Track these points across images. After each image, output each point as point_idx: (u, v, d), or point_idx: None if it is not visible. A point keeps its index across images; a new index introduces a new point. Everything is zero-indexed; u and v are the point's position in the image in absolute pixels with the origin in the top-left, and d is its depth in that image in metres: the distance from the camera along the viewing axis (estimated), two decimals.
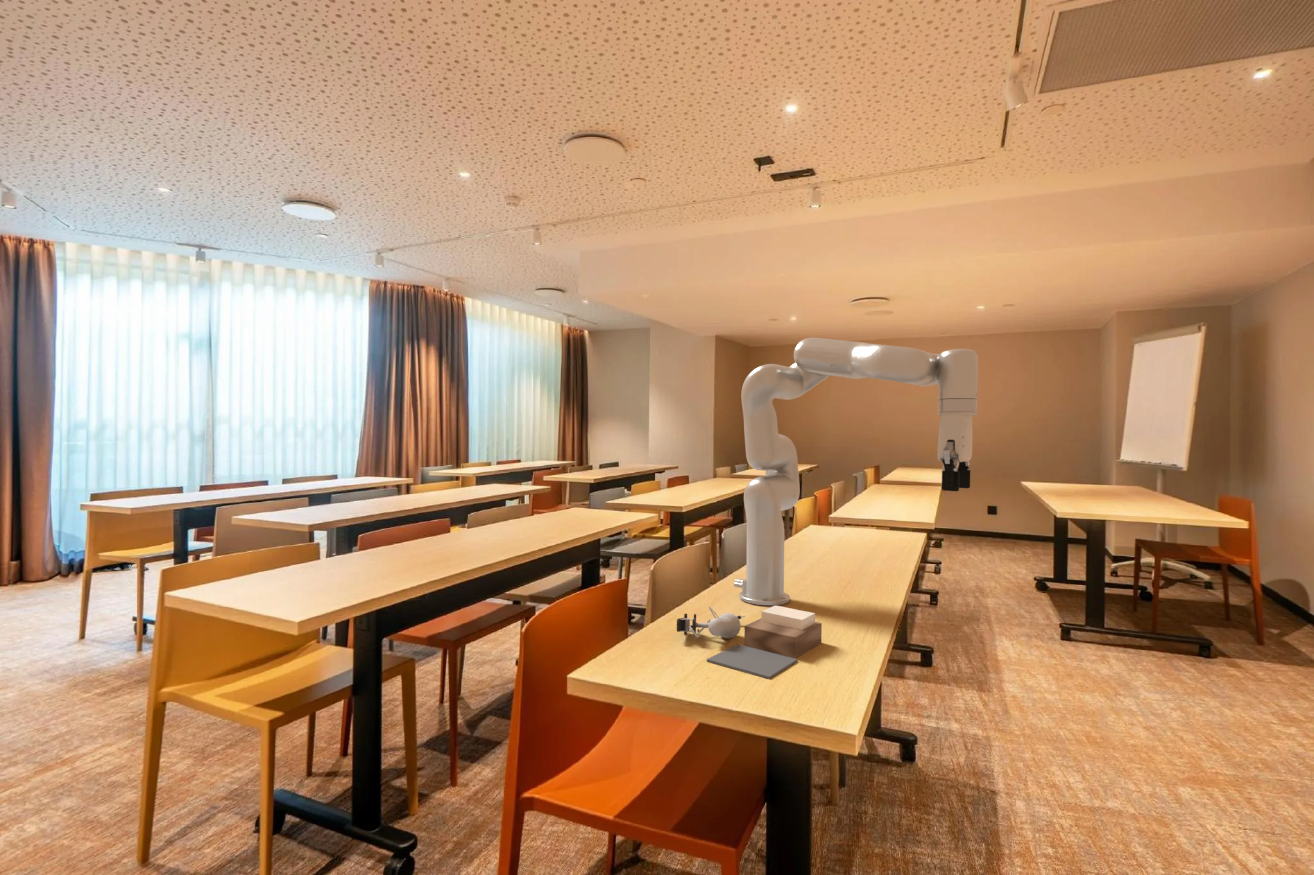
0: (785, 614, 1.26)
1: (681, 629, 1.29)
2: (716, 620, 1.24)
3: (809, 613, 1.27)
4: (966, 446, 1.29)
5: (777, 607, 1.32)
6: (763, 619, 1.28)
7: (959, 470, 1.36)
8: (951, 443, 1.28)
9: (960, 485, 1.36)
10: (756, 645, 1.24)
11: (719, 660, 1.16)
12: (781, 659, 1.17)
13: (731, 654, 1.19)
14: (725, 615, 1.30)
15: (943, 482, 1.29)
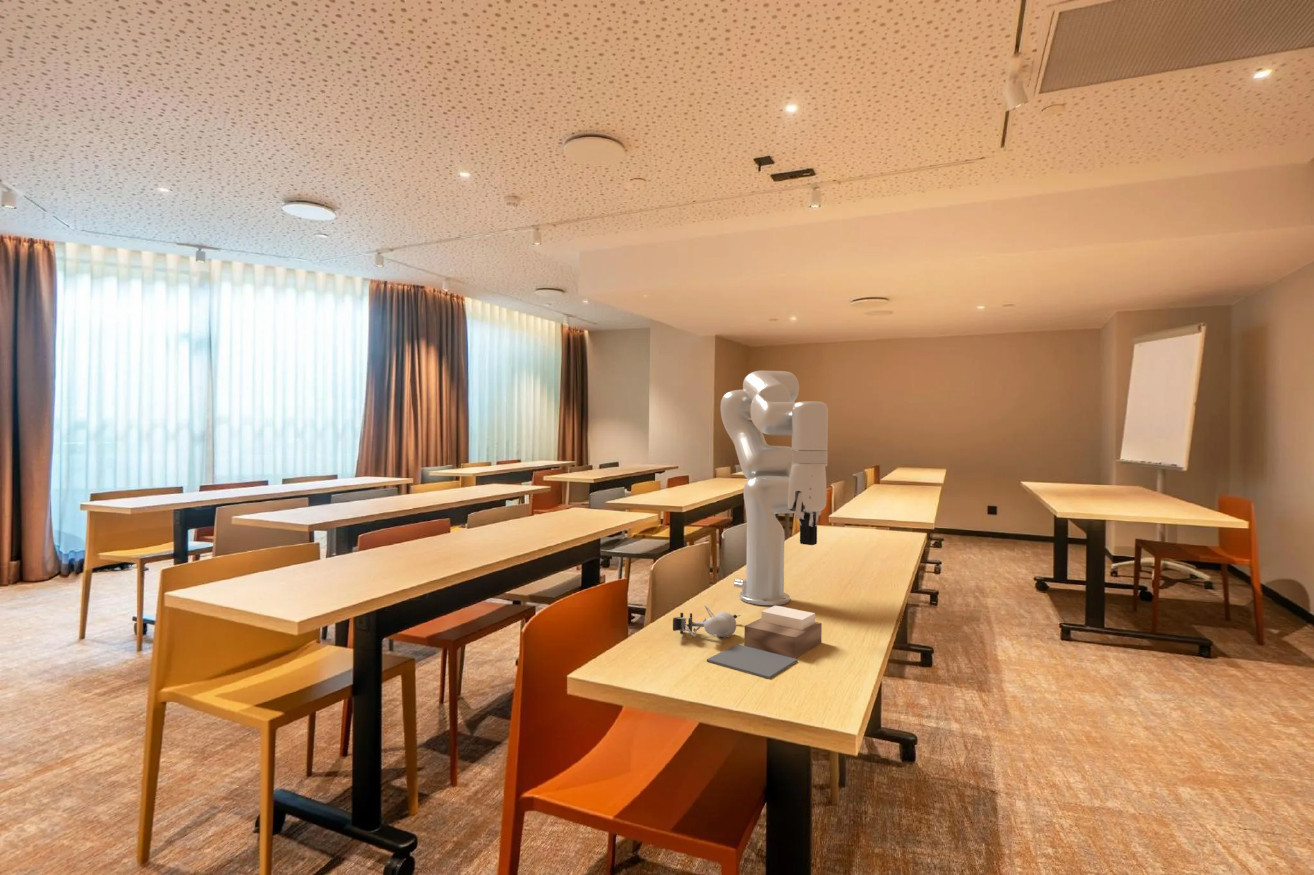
0: (785, 614, 1.26)
1: (677, 628, 1.30)
2: (712, 619, 1.25)
3: (809, 613, 1.27)
4: (814, 497, 1.32)
5: (777, 607, 1.32)
6: (763, 619, 1.28)
7: None
8: (800, 502, 1.31)
9: None
10: (756, 645, 1.24)
11: (719, 660, 1.16)
12: (781, 659, 1.17)
13: (731, 654, 1.19)
14: (721, 614, 1.31)
15: (801, 536, 1.35)
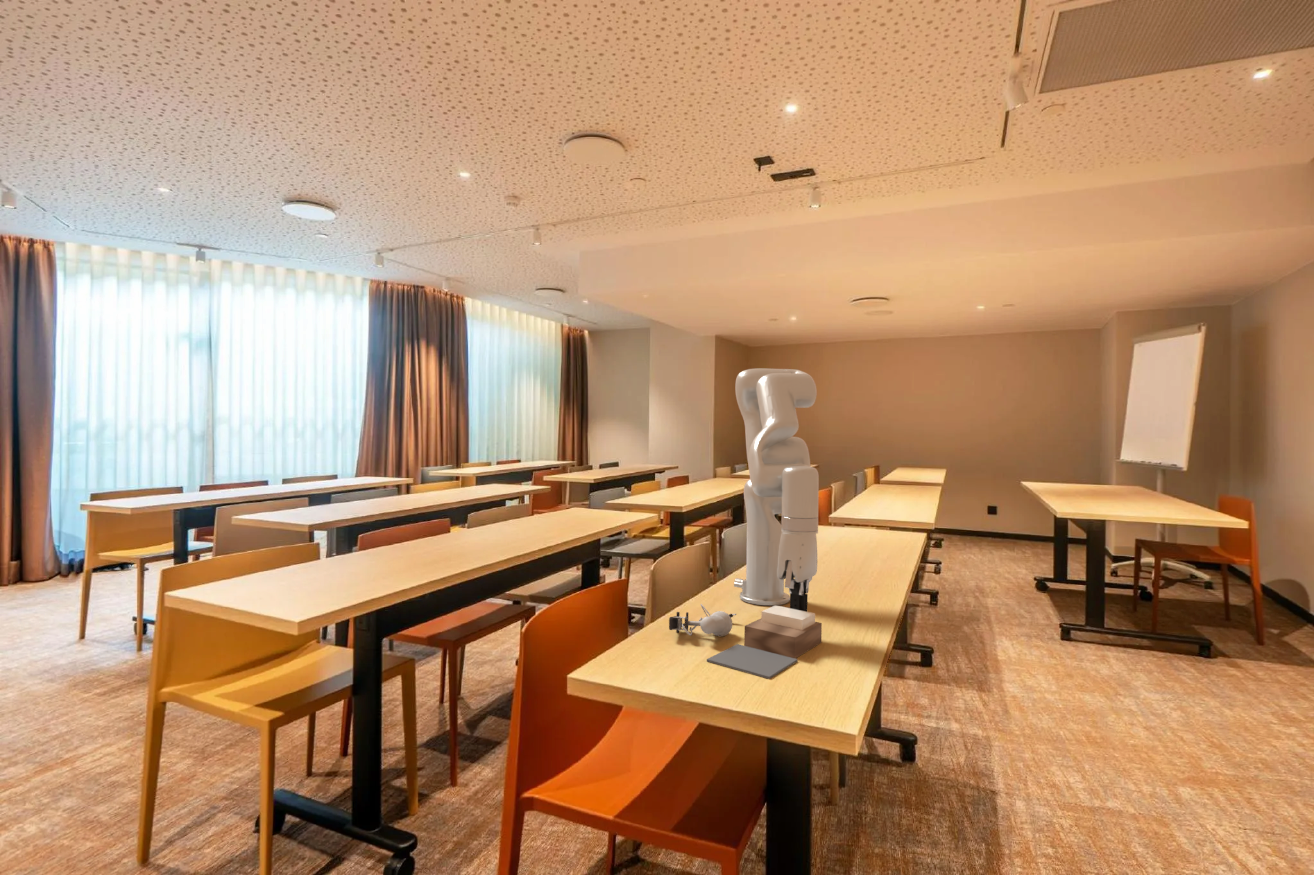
0: (785, 614, 1.26)
1: (674, 627, 1.30)
2: (708, 618, 1.25)
3: (809, 613, 1.27)
4: (805, 566, 1.28)
5: (777, 607, 1.32)
6: (763, 619, 1.28)
7: None
8: (790, 571, 1.28)
9: None
10: (756, 645, 1.24)
11: (719, 660, 1.16)
12: (781, 659, 1.17)
13: (731, 654, 1.19)
14: (717, 613, 1.31)
15: (791, 604, 1.32)
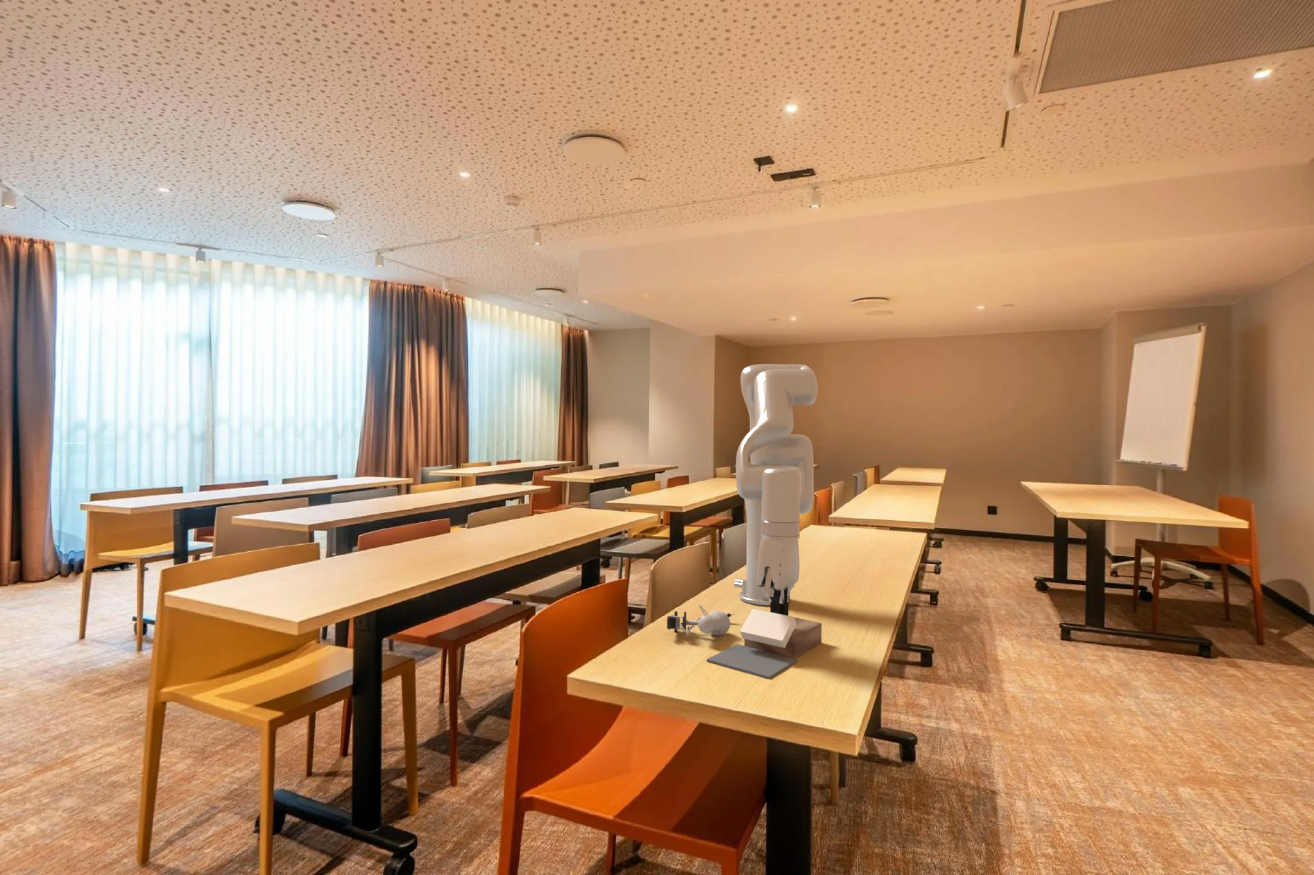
0: (764, 631, 1.20)
1: (672, 626, 1.30)
2: (706, 617, 1.26)
3: (788, 619, 1.20)
4: (785, 573, 1.22)
5: (755, 614, 1.24)
6: (744, 637, 1.22)
7: None
8: (770, 578, 1.21)
9: None
10: (756, 645, 1.24)
11: (719, 660, 1.16)
12: (781, 659, 1.17)
13: (731, 654, 1.19)
14: (715, 613, 1.31)
15: None
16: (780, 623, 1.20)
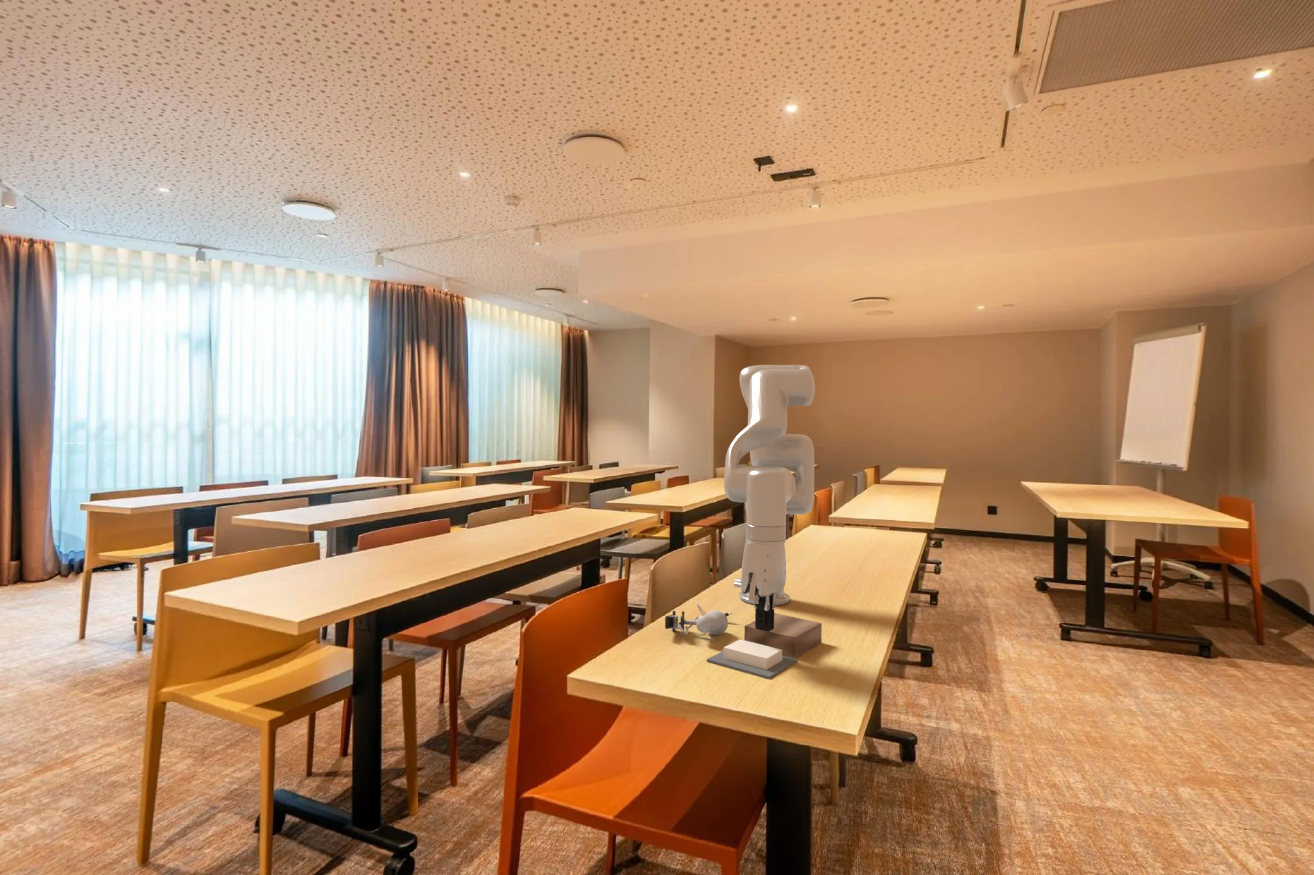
0: None
1: (670, 626, 1.31)
2: (704, 617, 1.26)
3: None
4: (770, 579, 1.17)
5: None
6: None
7: None
8: (754, 585, 1.16)
9: None
10: None
11: (719, 660, 1.16)
12: None
13: None
14: (713, 612, 1.32)
15: (756, 620, 1.20)
16: None
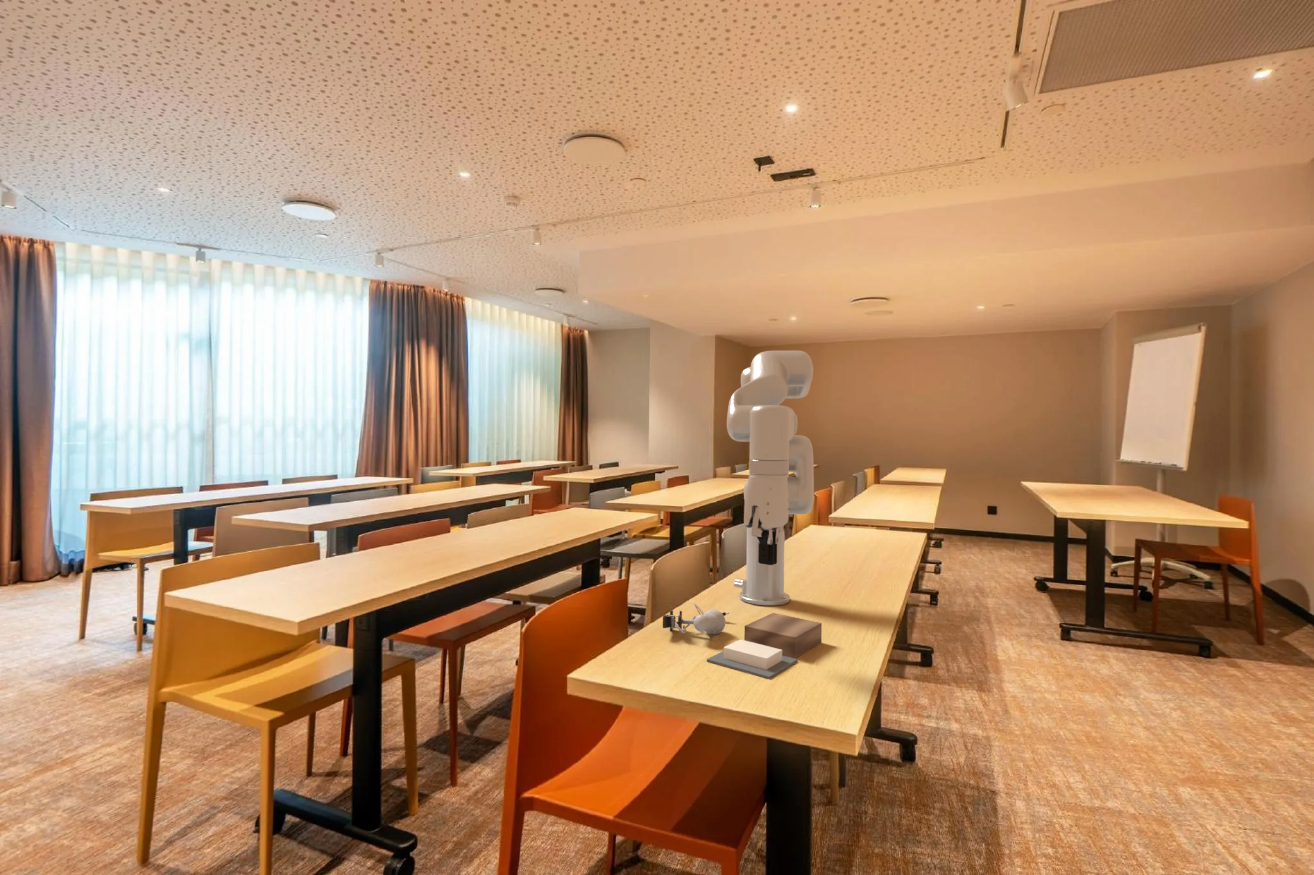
0: None
1: (667, 625, 1.31)
2: (701, 616, 1.26)
3: None
4: (773, 512, 1.18)
5: None
6: None
7: None
8: (757, 518, 1.17)
9: None
10: None
11: (719, 660, 1.16)
12: None
13: None
14: (710, 611, 1.32)
15: (759, 554, 1.22)
16: None
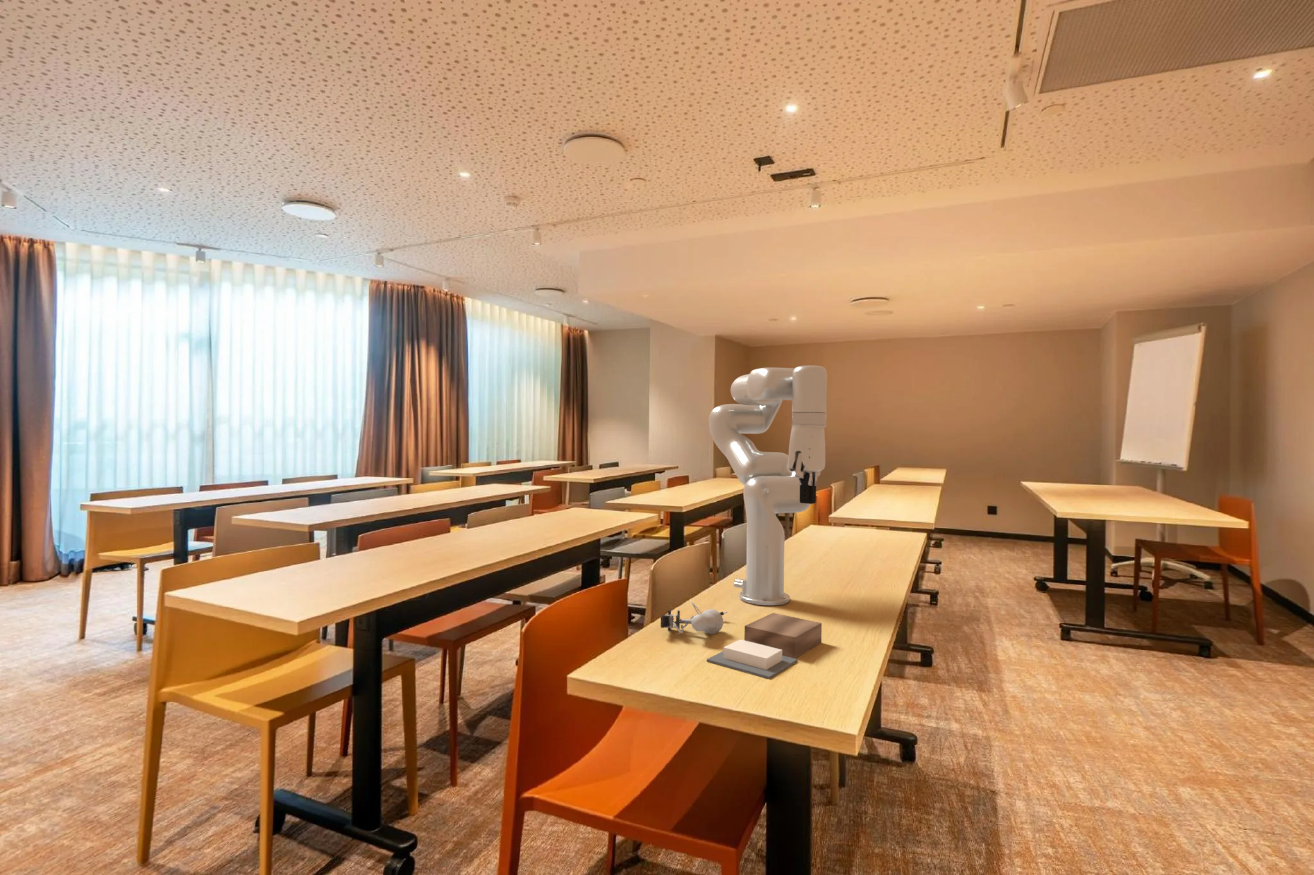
0: None
1: (665, 625, 1.31)
2: (699, 616, 1.27)
3: None
4: (814, 457, 1.37)
5: None
6: None
7: None
8: (800, 462, 1.37)
9: None
10: None
11: (719, 660, 1.16)
12: None
13: None
14: (708, 611, 1.33)
15: (801, 495, 1.41)
16: None
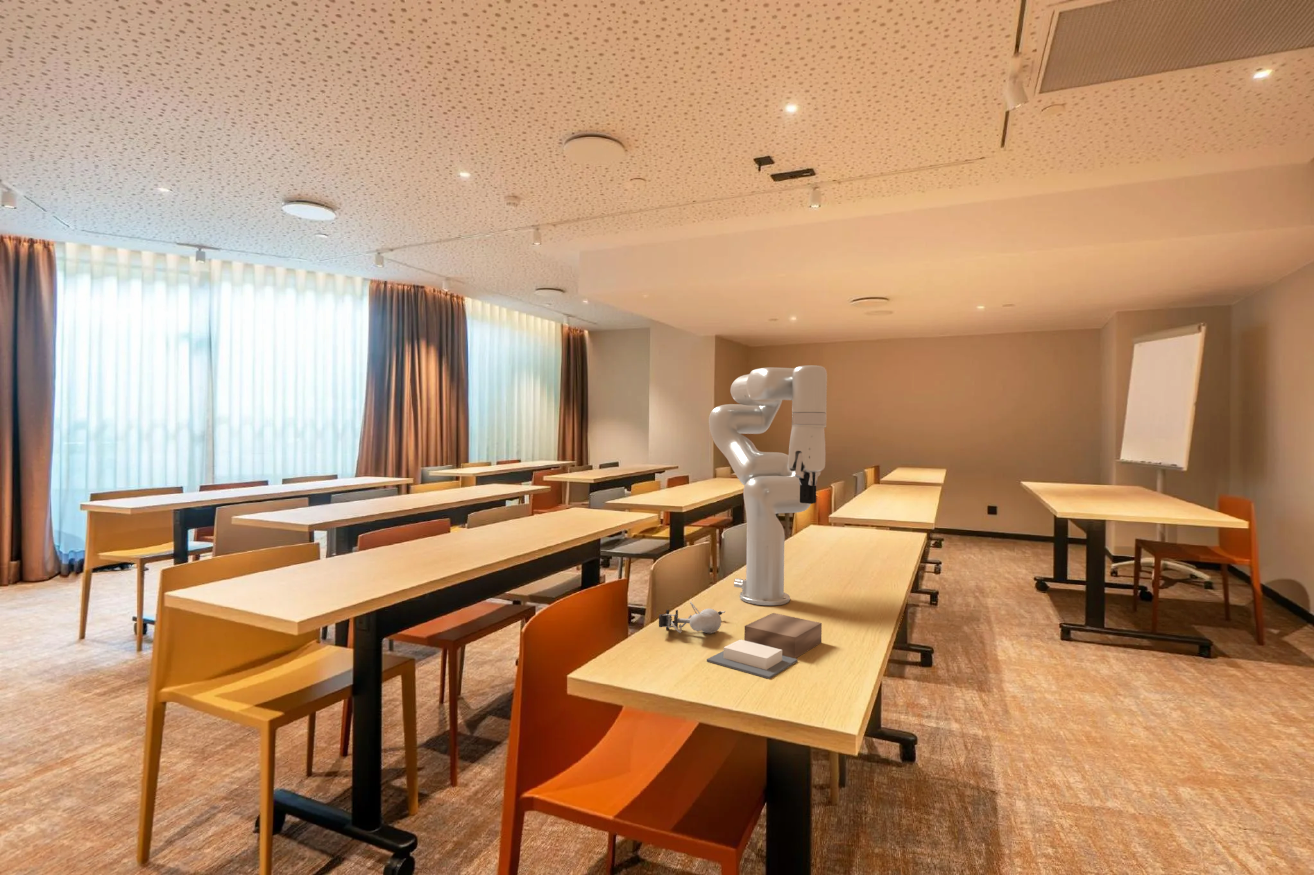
0: None
1: (663, 624, 1.32)
2: (697, 615, 1.27)
3: None
4: (814, 457, 1.37)
5: None
6: None
7: None
8: (800, 461, 1.37)
9: None
10: None
11: (719, 660, 1.16)
12: None
13: None
14: (706, 611, 1.33)
15: (801, 495, 1.41)
16: None
